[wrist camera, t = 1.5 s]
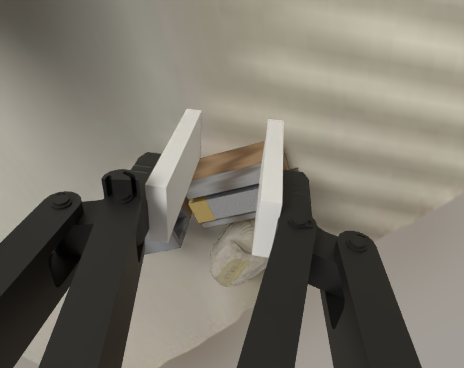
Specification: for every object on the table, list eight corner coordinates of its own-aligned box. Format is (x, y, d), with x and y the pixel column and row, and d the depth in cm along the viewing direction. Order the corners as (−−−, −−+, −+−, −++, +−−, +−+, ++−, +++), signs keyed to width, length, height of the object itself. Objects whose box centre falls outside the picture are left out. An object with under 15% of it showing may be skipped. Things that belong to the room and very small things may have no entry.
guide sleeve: (278, 137, 48) (277, 170, 41) (291, 176, 51) (292, 212, 44) (197, 159, 51) (184, 192, 45) (214, 193, 54) (204, 229, 48)
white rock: (283, 209, 55) (219, 199, 56) (278, 244, 48) (205, 231, 49) (274, 267, 61) (217, 256, 63) (268, 305, 54) (204, 293, 56)
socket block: (178, 162, 52) (156, 208, 43) (196, 198, 55) (180, 247, 47) (120, 178, 55) (89, 223, 46) (141, 211, 58) (116, 259, 50)
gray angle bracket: (297, 167, 43) (300, 222, 35) (304, 188, 45) (308, 246, 37) (192, 191, 47) (173, 246, 39) (202, 210, 49) (185, 266, 41)
